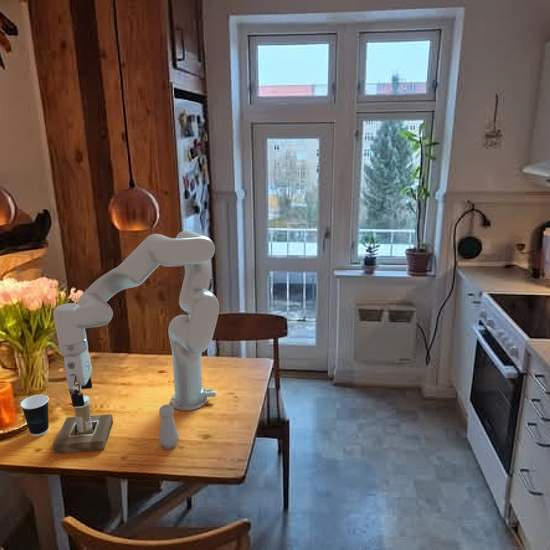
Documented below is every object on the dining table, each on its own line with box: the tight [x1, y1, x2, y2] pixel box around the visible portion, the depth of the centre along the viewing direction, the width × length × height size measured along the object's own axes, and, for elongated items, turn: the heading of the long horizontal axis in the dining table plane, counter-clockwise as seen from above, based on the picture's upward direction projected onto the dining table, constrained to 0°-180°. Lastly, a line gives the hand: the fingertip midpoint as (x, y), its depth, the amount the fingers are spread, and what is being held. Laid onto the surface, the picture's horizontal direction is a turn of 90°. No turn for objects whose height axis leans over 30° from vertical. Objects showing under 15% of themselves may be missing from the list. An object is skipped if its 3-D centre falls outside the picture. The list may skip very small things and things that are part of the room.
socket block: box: [52, 413, 114, 455], centre depth 146 cm, size 14×14×3 cm
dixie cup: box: [19, 394, 50, 438], centre depth 148 cm, size 8×8×11 cm
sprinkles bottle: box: [73, 394, 94, 435], centre depth 145 cm, size 5×5×13 cm
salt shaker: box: [158, 404, 179, 450], centre depth 142 cm, size 6×6×13 cm
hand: (83, 396), depth 143 cm, fingers open, 9 cm apart
